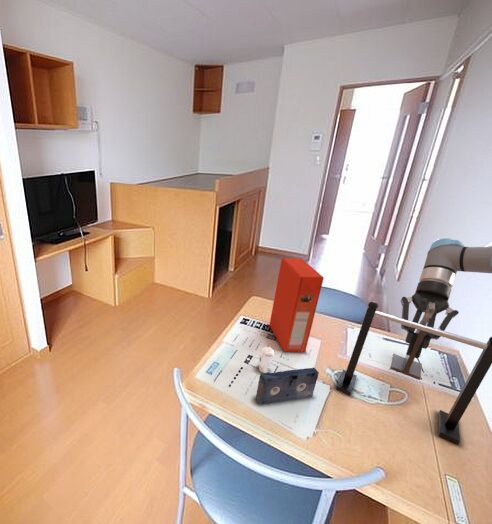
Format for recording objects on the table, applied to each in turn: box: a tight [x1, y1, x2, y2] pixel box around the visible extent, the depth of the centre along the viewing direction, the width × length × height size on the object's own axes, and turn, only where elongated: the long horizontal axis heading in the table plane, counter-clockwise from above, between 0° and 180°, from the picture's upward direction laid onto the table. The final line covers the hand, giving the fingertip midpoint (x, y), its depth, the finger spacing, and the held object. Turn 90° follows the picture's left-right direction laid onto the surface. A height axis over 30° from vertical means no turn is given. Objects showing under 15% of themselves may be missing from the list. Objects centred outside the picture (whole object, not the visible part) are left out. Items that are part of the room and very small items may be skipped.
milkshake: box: [258, 342, 275, 374], centre depth 106 cm, size 4×5×10 cm
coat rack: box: [335, 301, 492, 446], centre depth 88 cm, size 29×10×32 cm, turn 48°
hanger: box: [389, 302, 435, 381], centre depth 89 cm, size 7×8×22 cm
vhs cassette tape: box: [255, 367, 320, 405], centre depth 94 cm, size 18×3×10 cm, turn 98°
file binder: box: [268, 257, 325, 353], centre depth 118 cm, size 8×17×32 cm, turn 177°
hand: (412, 355), depth 88 cm, fingers closed on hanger
